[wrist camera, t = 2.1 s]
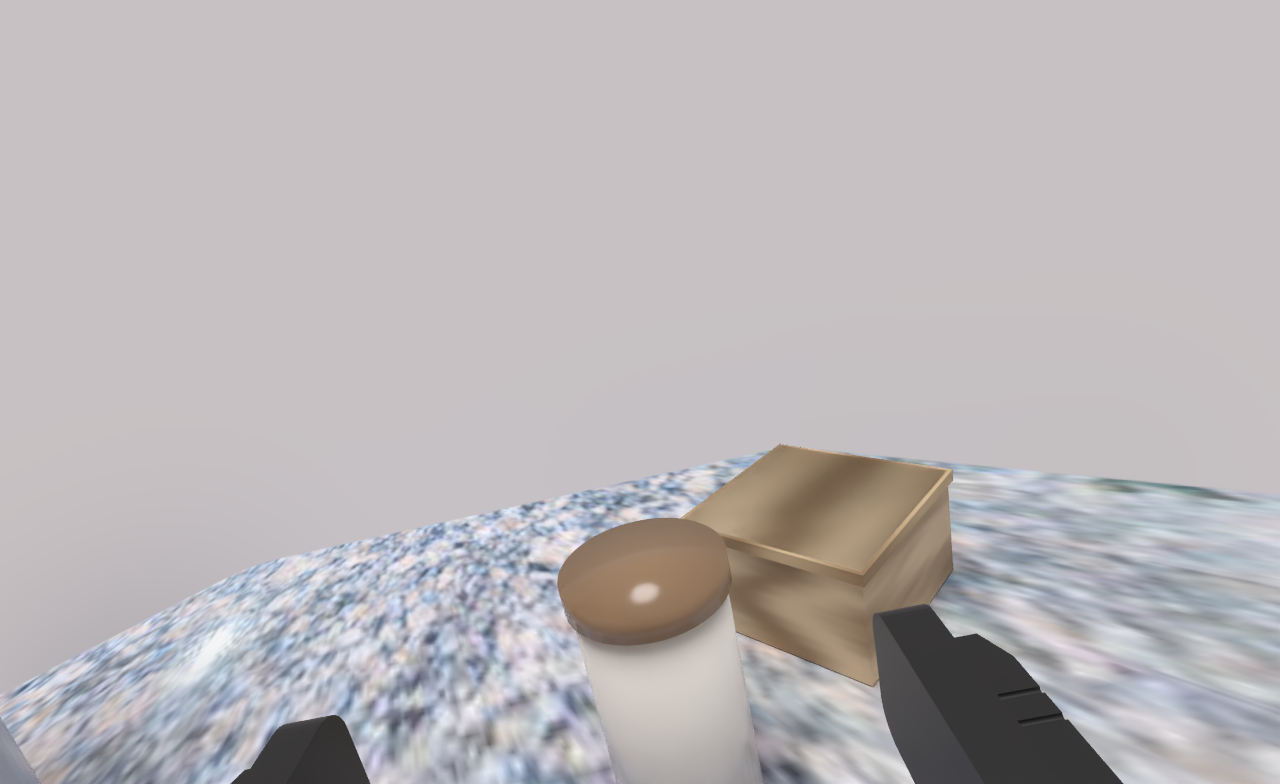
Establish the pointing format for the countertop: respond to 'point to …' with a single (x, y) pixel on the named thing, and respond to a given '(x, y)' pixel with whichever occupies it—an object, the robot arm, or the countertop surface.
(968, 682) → the robot arm
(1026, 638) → the countertop surface
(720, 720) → the cream jar
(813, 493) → the oak box
